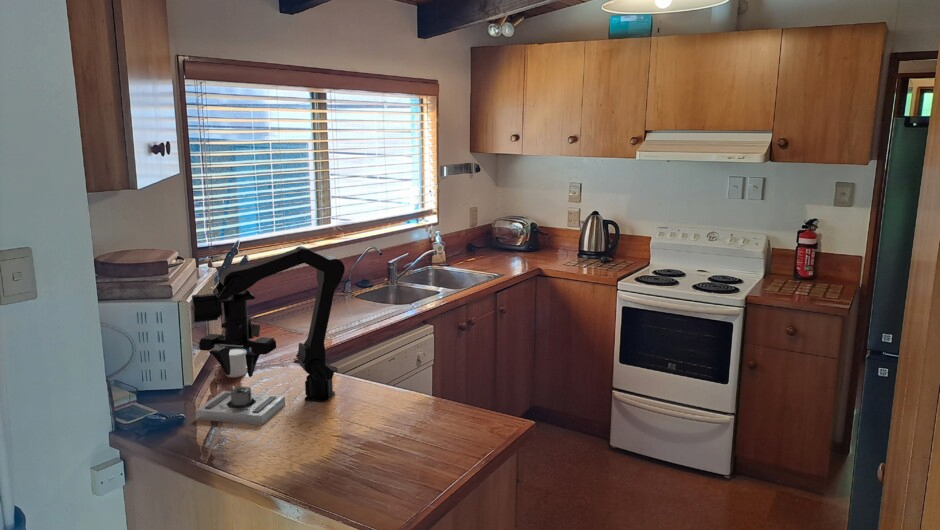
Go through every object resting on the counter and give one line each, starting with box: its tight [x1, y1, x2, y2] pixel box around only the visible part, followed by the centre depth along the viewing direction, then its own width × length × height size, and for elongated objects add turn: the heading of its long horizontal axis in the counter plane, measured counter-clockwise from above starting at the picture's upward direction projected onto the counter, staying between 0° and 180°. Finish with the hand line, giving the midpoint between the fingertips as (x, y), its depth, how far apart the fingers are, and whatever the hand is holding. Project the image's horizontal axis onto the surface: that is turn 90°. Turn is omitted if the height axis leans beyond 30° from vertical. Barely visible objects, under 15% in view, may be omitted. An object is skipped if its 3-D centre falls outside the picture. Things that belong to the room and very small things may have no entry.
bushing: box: [230, 386, 252, 409], centre depth 176 cm, size 5×5×6 cm
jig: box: [195, 390, 286, 426], centre depth 176 cm, size 18×13×3 cm
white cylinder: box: [225, 349, 247, 378], centre depth 203 cm, size 7×7×7 cm
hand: (239, 375), depth 175 cm, fingers open, 6 cm apart
